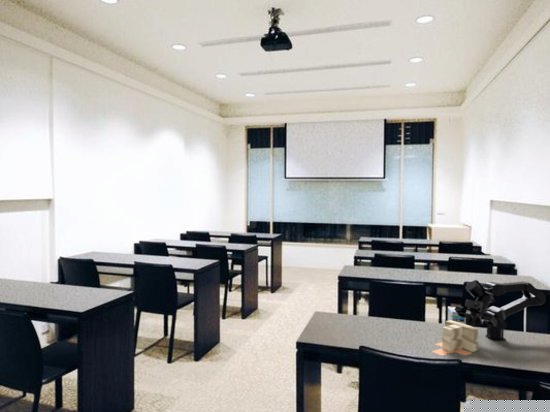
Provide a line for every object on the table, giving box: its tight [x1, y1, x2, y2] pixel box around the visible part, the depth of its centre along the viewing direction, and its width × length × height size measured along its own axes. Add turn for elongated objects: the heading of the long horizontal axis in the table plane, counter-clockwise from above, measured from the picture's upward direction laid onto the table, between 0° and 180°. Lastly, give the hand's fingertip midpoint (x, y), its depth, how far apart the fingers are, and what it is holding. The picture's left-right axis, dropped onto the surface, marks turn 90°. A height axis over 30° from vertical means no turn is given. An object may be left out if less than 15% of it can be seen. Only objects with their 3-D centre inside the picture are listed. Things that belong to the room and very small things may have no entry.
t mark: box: [430, 341, 473, 357], centre depth 175 cm, size 14×16×1 cm
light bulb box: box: [447, 306, 467, 325], centre depth 203 cm, size 11×7×11 cm, turn 168°
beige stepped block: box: [441, 320, 479, 353], centre depth 178 cm, size 13×14×10 cm
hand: (467, 330), depth 183 cm, fingers closed
